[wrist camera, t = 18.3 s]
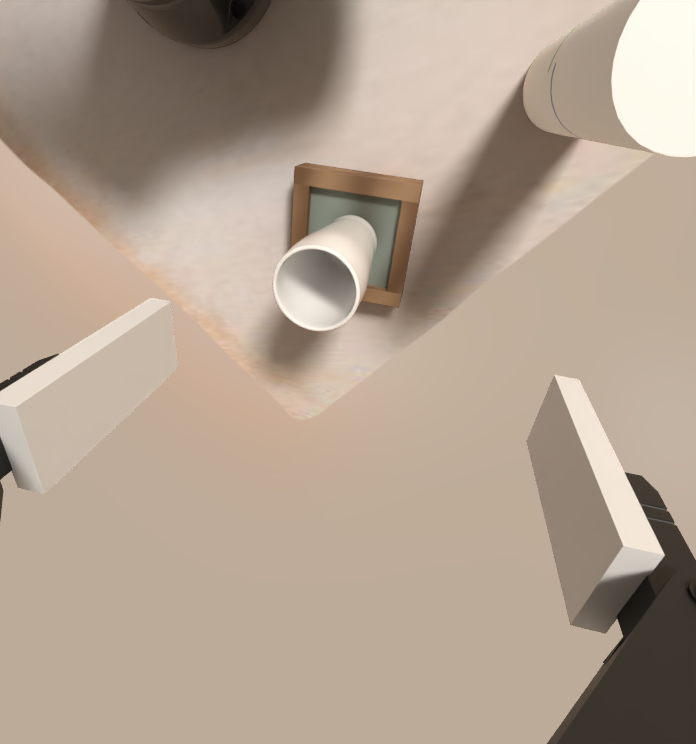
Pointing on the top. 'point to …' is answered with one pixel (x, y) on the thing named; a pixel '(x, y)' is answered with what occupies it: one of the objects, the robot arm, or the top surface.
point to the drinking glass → (326, 274)
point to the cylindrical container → (621, 78)
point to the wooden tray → (372, 203)
